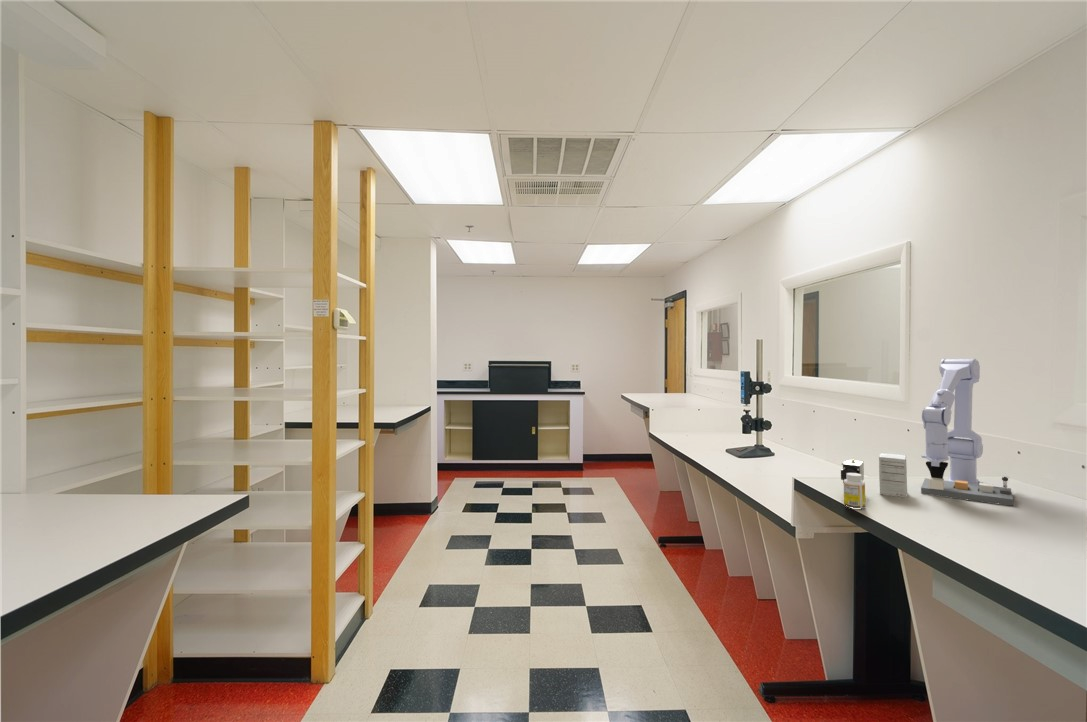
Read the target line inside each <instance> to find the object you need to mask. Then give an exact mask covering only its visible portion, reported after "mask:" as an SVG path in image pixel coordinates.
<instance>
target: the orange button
mask: <svg viewBox="0 0 1087 722" xmlns="http://www.w3.org/2000/svg"><path fill="white" fill-rule="evenodd" d="M955 488H956V489H964V490H968V481H959V480H955Z"/></svg>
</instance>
